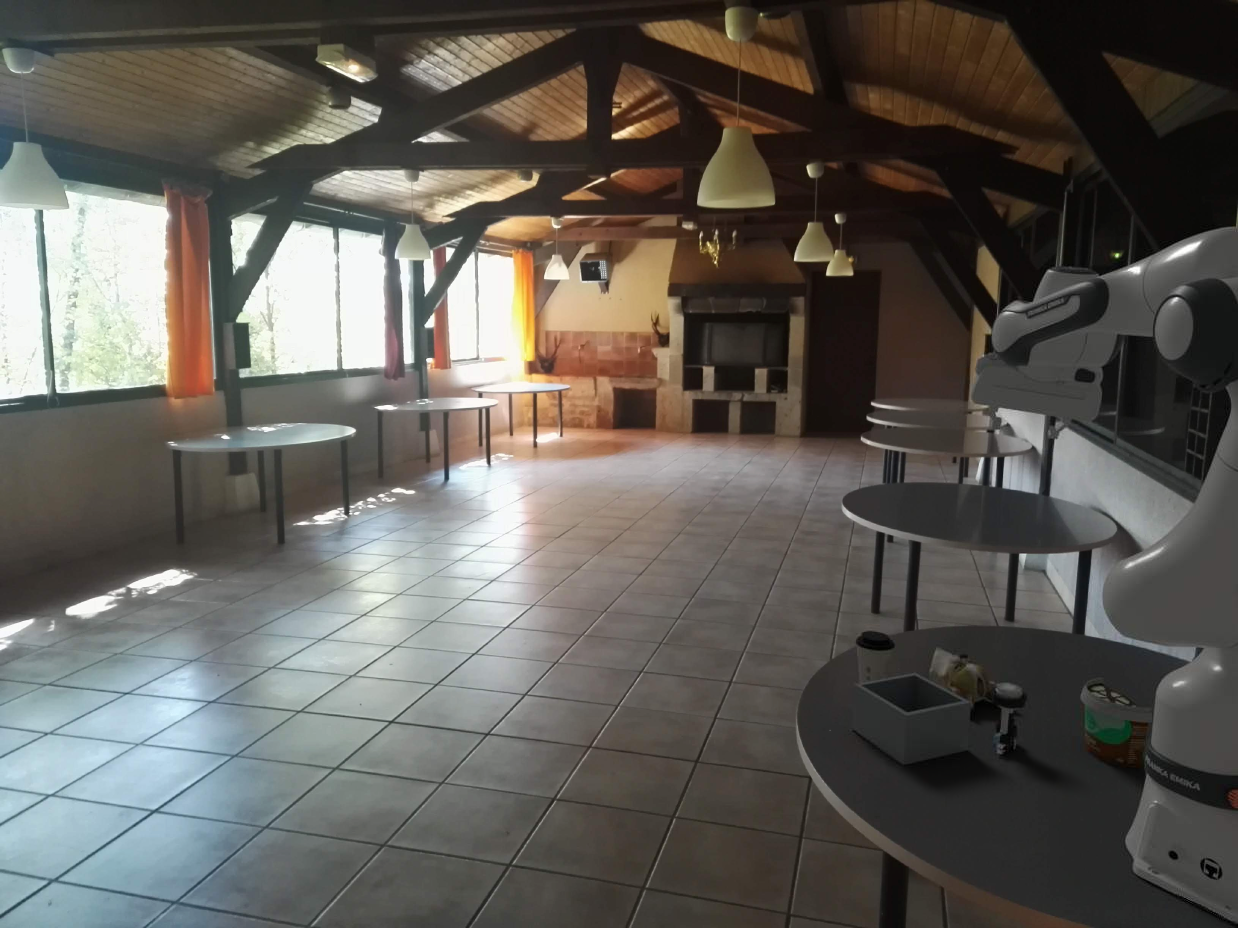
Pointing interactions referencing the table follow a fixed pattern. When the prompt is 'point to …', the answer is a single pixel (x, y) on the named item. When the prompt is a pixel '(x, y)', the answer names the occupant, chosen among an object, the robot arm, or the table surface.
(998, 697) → the push button
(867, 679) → the coffee cup
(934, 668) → the ceramic sculpture
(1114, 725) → the food container
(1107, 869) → the table surface
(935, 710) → the bin
